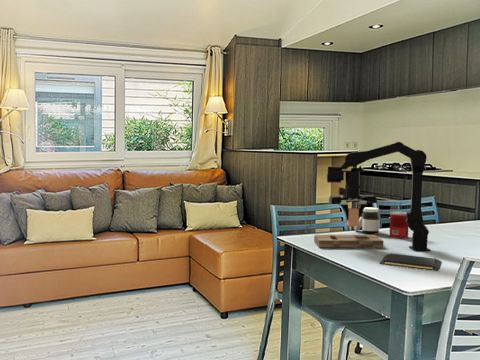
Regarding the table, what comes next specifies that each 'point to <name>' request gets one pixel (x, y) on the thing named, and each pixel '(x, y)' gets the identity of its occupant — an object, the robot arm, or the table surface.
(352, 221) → the square peg
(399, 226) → the canned food
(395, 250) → the table surface
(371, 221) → the spread jar
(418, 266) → the dark grey flat slab
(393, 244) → the table surface
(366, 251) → the table surface
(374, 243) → the bore block
